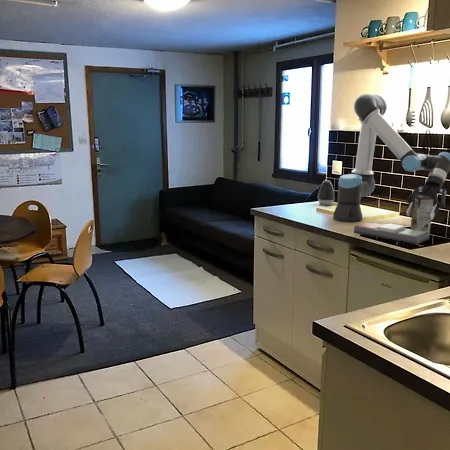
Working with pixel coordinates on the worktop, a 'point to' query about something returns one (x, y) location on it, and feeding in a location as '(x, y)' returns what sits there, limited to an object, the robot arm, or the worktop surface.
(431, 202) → the coffee box
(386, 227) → the key grey
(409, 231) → the key sage
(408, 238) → the keypad
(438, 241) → the worktop surface
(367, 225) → the key terracotta
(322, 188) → the dark grey egg shape
